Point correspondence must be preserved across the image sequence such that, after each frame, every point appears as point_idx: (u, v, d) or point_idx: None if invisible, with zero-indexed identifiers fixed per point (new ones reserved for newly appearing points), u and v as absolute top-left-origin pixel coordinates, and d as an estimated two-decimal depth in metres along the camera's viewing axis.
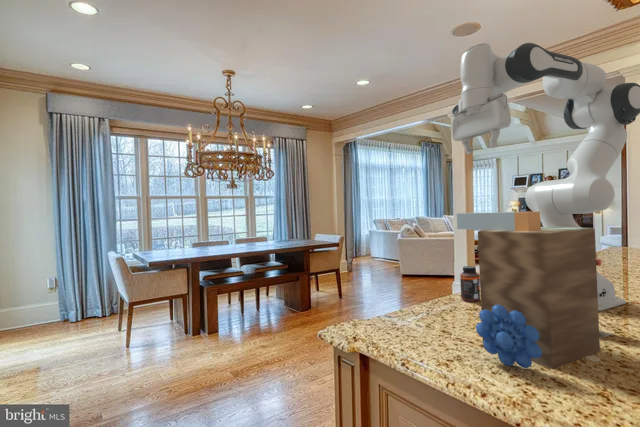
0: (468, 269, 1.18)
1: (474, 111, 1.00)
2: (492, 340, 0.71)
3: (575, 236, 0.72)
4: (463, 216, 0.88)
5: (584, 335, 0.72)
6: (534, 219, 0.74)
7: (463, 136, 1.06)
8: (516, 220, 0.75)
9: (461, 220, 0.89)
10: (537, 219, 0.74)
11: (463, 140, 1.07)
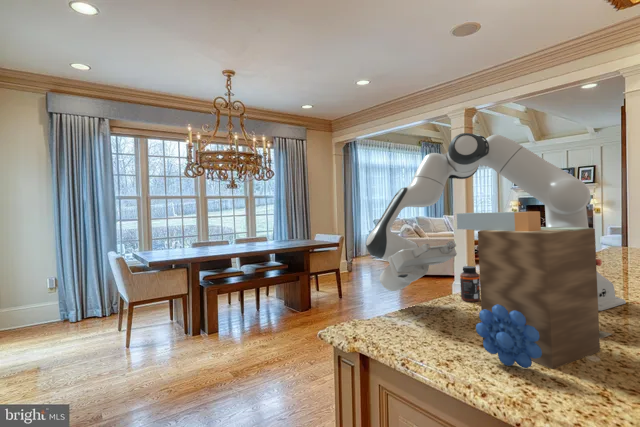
0: (468, 269, 1.18)
1: None
2: (492, 340, 0.71)
3: (575, 236, 0.72)
4: (463, 216, 0.88)
5: (584, 335, 0.72)
6: (534, 219, 0.74)
7: (415, 248, 1.01)
8: (516, 220, 0.75)
9: (461, 220, 0.89)
10: (537, 219, 0.74)
11: None
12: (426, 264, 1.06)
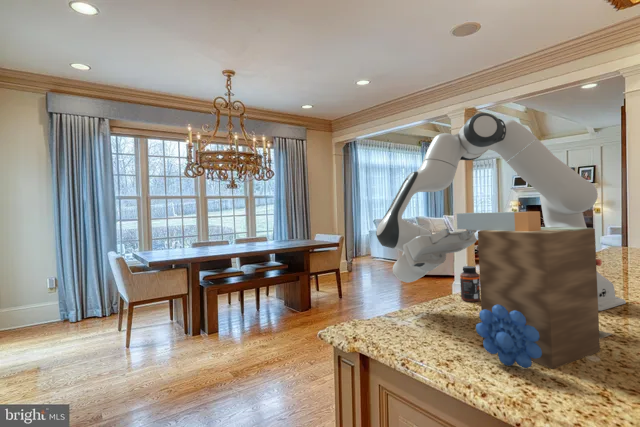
0: (468, 269, 1.18)
1: None
2: (492, 340, 0.71)
3: (575, 236, 0.72)
4: (463, 216, 0.88)
5: (584, 335, 0.72)
6: (534, 219, 0.74)
7: (432, 234, 0.94)
8: (516, 220, 0.75)
9: (461, 220, 0.89)
10: (537, 219, 0.74)
11: None
12: (444, 252, 0.99)
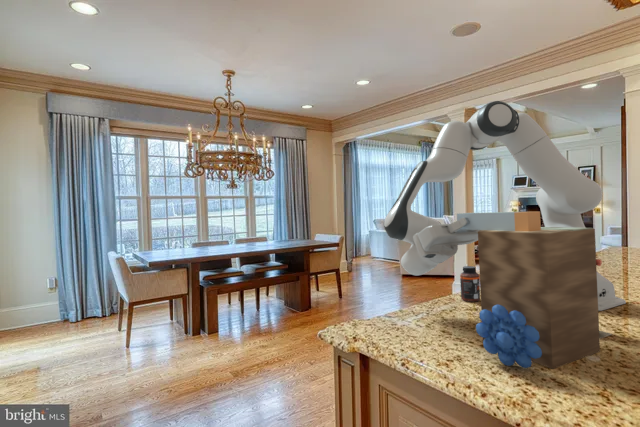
0: (468, 269, 1.18)
1: None
2: (492, 340, 0.71)
3: (575, 236, 0.72)
4: (463, 216, 0.88)
5: (584, 335, 0.72)
6: (534, 219, 0.74)
7: (444, 224, 0.90)
8: (516, 220, 0.75)
9: None
10: (537, 219, 0.74)
11: None
12: (455, 243, 0.96)
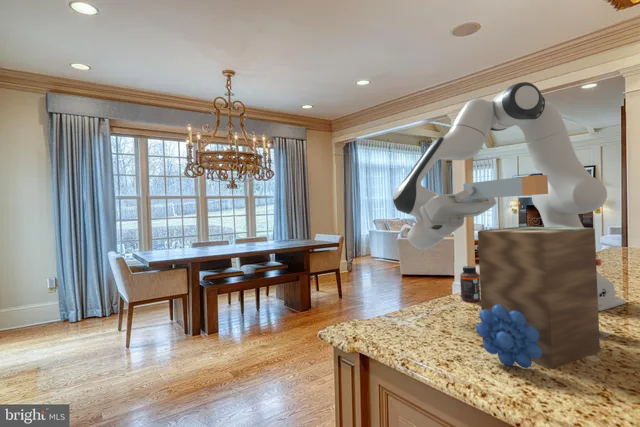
0: (468, 269, 1.18)
1: None
2: (492, 340, 0.71)
3: (575, 236, 0.72)
4: (470, 186, 0.89)
5: (584, 335, 0.72)
6: (541, 183, 0.74)
7: None
8: (523, 184, 0.76)
9: None
10: (545, 183, 0.75)
11: None
12: (462, 215, 0.96)
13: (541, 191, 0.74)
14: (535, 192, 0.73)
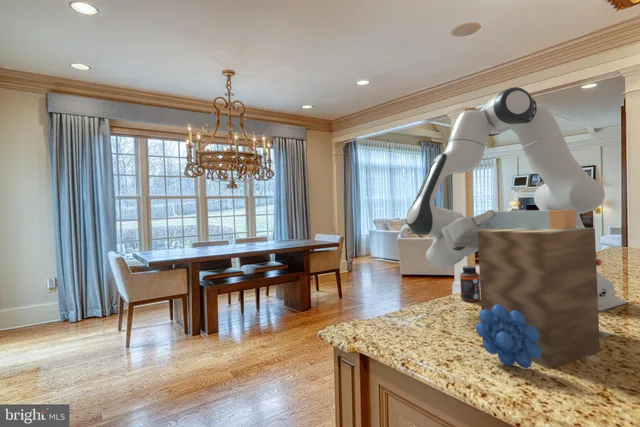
0: (468, 269, 1.18)
1: None
2: (492, 340, 0.71)
3: (575, 236, 0.72)
4: None
5: (584, 335, 0.72)
6: (570, 217, 0.75)
7: None
8: (551, 218, 0.76)
9: (492, 219, 0.90)
10: (573, 217, 0.75)
11: None
12: None
13: (569, 226, 0.75)
14: (564, 227, 0.74)
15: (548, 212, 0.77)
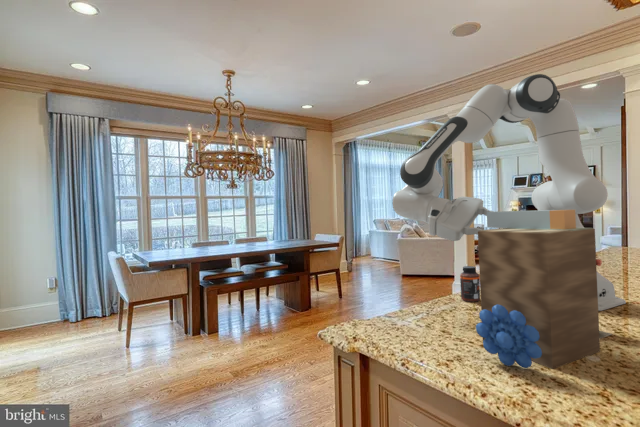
0: (468, 269, 1.18)
1: (453, 204, 1.06)
2: (492, 340, 0.71)
3: (575, 236, 0.72)
4: (493, 215, 0.89)
5: (584, 335, 0.72)
6: (570, 217, 0.75)
7: (464, 222, 0.99)
8: (551, 218, 0.76)
9: (492, 219, 0.90)
10: (573, 217, 0.75)
11: (466, 226, 0.99)
12: None
13: (569, 226, 0.75)
14: (564, 227, 0.74)
15: (548, 212, 0.77)
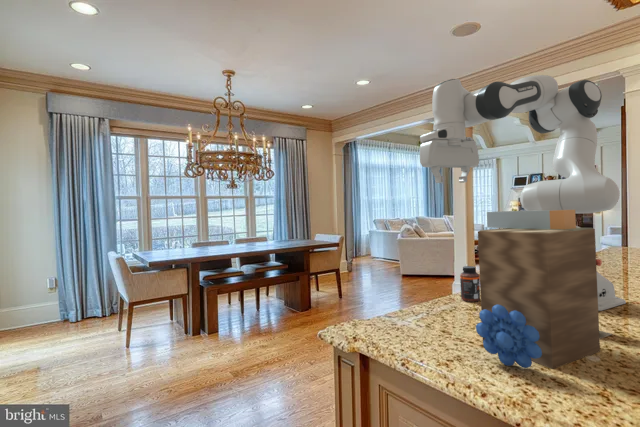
0: (468, 269, 1.18)
1: (460, 144, 1.02)
2: (492, 340, 0.71)
3: (575, 236, 0.72)
4: (493, 215, 0.89)
5: (584, 335, 0.72)
6: (570, 217, 0.75)
7: (442, 164, 1.00)
8: (551, 218, 0.76)
9: (492, 219, 0.90)
10: (573, 217, 0.75)
11: (438, 168, 1.01)
12: None
13: (569, 226, 0.75)
14: (564, 227, 0.74)
15: (548, 212, 0.77)
